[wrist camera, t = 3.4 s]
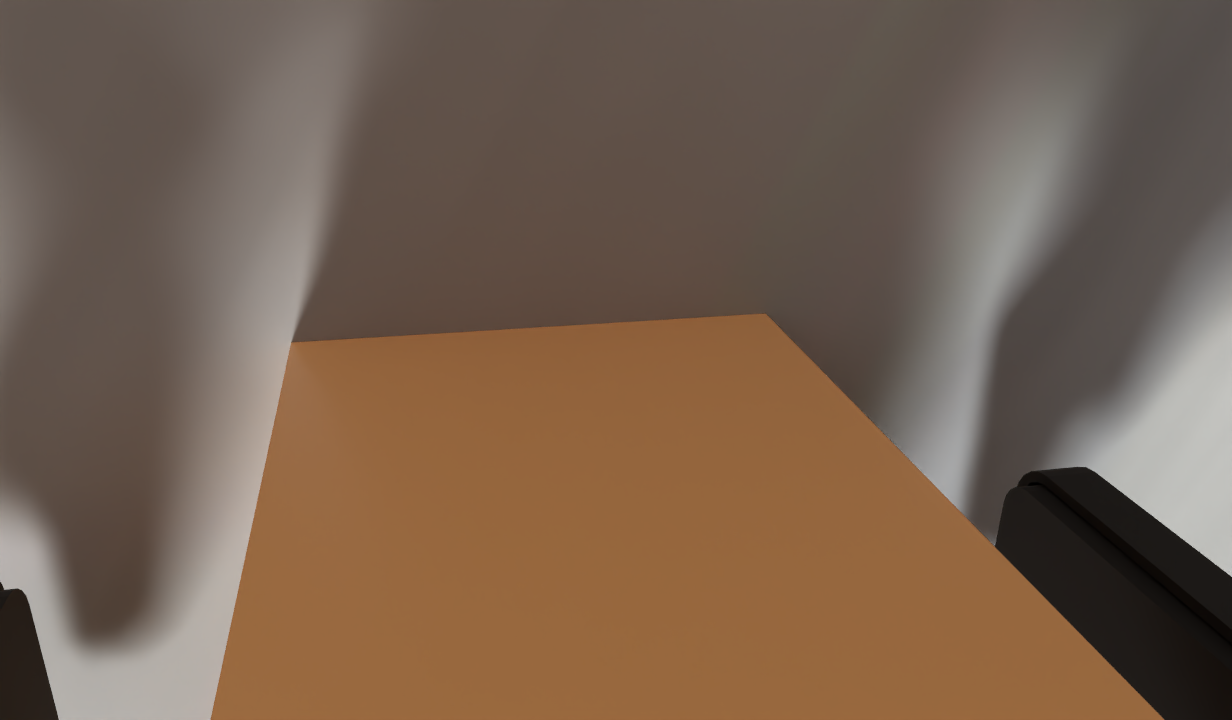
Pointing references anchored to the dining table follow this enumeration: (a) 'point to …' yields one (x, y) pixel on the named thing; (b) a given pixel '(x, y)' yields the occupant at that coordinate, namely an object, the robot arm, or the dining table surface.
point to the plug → (622, 545)
